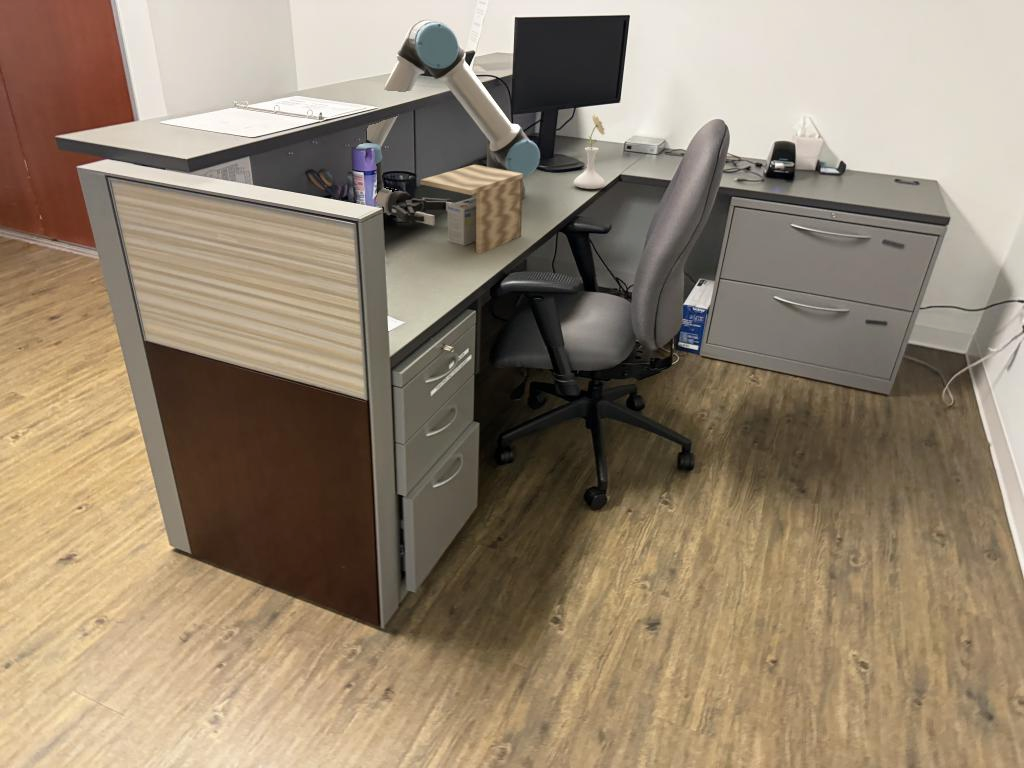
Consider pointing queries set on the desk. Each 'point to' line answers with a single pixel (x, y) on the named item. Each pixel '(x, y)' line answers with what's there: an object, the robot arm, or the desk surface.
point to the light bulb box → (462, 221)
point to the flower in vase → (591, 164)
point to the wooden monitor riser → (487, 201)
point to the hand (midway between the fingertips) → (449, 215)
